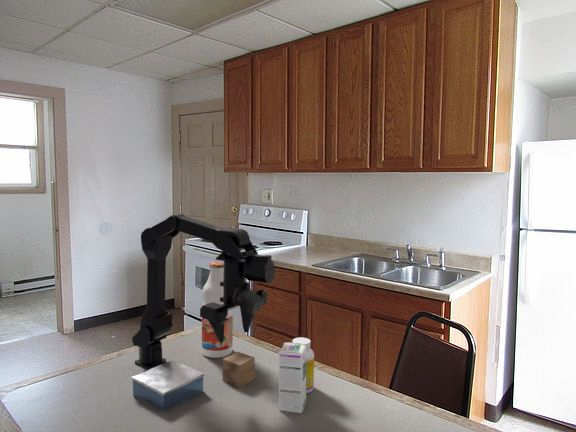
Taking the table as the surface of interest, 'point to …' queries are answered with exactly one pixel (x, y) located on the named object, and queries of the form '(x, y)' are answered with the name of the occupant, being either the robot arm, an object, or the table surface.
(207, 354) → the fruit juice
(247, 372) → the walnut block
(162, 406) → the slate tin
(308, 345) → the supplement bottle
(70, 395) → the table surface
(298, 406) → the syrup box
